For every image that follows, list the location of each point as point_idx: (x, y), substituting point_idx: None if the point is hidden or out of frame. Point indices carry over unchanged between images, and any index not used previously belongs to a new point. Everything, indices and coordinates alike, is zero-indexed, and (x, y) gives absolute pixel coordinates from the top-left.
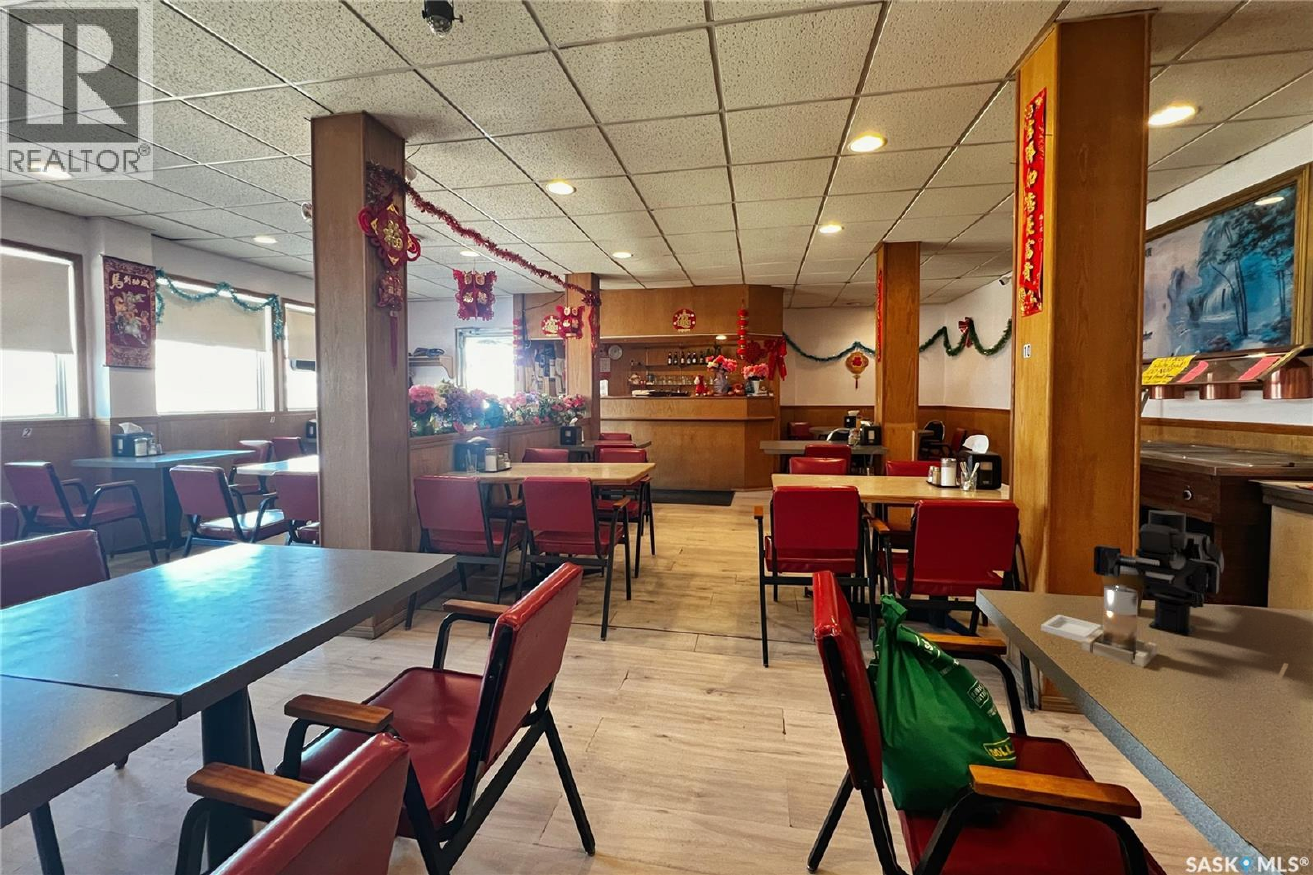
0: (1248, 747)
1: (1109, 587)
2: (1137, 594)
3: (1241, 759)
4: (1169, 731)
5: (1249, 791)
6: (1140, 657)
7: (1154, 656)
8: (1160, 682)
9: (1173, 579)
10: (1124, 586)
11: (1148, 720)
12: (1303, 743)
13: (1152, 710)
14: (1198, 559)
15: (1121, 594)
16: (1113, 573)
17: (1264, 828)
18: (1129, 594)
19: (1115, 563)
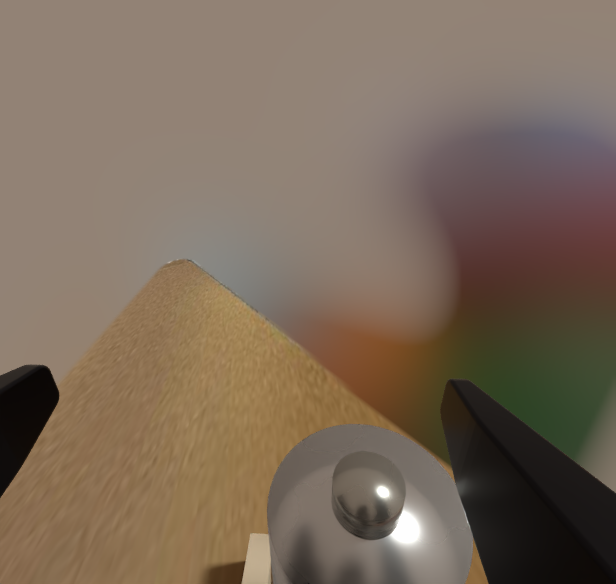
0: (135, 352)
1: (440, 513)
2: (268, 505)
3: (156, 328)
4: (219, 334)
5: (169, 294)
6: (259, 535)
7: None
8: (215, 499)
9: (27, 365)
10: (349, 491)
11: (241, 342)
12: None
13: (236, 367)
14: None
15: (336, 429)
16: (456, 466)
17: (175, 271)
18: (302, 441)
19: (564, 543)
